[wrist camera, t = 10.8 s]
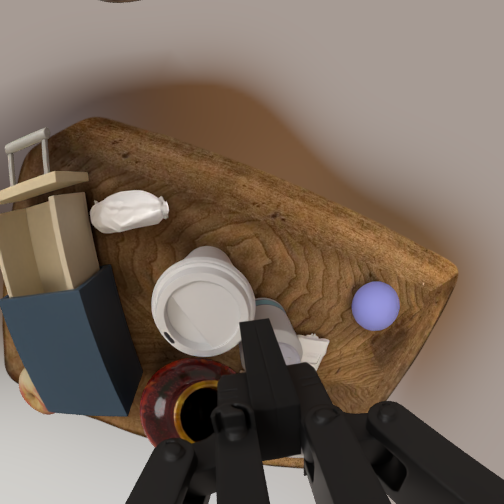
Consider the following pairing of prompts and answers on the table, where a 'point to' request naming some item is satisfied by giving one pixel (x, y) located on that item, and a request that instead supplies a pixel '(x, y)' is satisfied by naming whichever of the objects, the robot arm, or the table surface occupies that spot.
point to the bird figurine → (128, 211)
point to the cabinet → (77, 347)
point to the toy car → (313, 349)
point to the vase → (181, 400)
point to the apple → (31, 393)
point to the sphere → (375, 306)
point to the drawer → (45, 230)
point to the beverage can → (278, 330)
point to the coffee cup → (202, 303)
